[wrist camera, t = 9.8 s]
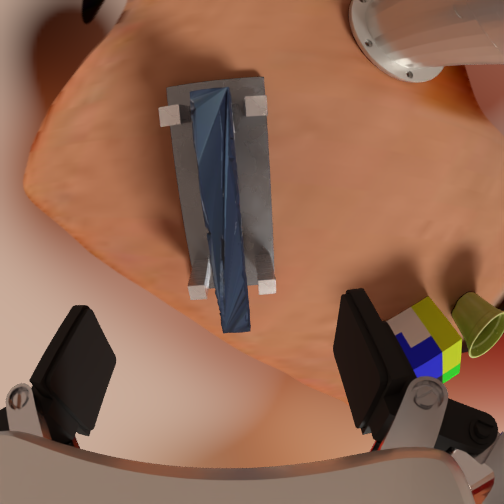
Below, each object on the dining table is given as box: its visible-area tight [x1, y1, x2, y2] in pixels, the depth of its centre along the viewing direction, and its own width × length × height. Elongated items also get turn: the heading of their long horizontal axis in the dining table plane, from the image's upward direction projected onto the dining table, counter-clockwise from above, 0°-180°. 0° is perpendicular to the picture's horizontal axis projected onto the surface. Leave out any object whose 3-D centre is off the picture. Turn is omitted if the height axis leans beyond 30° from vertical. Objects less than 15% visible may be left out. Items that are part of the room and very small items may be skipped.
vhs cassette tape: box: [190, 87, 251, 333], centre depth 23 cm, size 18×3×10 cm, turn 2°
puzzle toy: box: [386, 296, 462, 383], centre depth 35 cm, size 10×10×10 cm
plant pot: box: [452, 292, 504, 358], centre depth 35 cm, size 9×9×9 cm
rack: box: [159, 77, 276, 300], centre depth 26 cm, size 22×9×6 cm, turn 4°
